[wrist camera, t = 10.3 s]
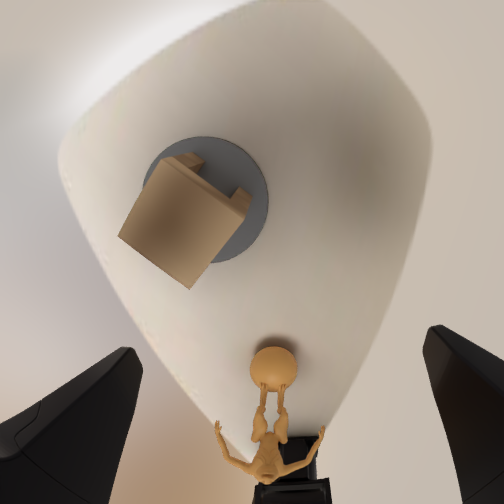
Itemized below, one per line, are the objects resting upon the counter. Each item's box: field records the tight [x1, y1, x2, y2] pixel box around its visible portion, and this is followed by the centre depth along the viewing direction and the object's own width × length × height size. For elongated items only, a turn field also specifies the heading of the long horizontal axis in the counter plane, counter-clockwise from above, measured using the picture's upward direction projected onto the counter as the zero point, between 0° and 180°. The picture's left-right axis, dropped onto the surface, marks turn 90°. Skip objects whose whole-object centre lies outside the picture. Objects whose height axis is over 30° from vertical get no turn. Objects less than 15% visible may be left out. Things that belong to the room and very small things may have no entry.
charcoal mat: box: [142, 137, 268, 263], centre depth 19 cm, size 9×9×1 cm
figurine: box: [215, 346, 325, 484], centre depth 19 cm, size 8×6×12 cm
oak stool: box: [118, 152, 253, 290], centre depth 16 cm, size 5×5×6 cm
